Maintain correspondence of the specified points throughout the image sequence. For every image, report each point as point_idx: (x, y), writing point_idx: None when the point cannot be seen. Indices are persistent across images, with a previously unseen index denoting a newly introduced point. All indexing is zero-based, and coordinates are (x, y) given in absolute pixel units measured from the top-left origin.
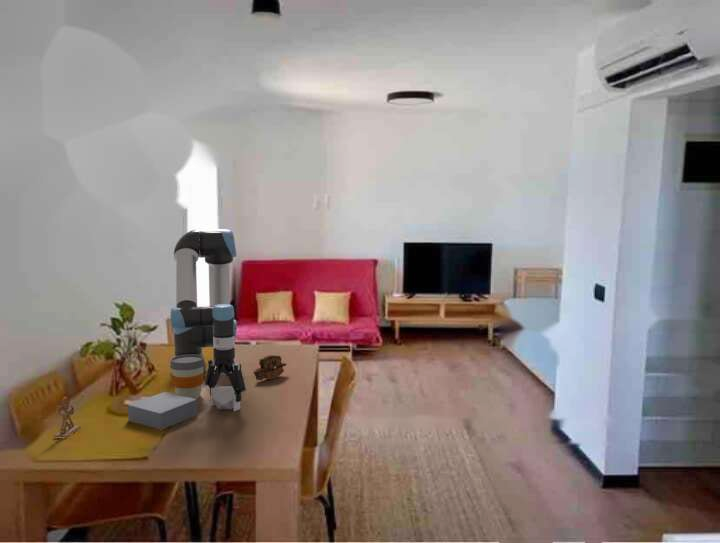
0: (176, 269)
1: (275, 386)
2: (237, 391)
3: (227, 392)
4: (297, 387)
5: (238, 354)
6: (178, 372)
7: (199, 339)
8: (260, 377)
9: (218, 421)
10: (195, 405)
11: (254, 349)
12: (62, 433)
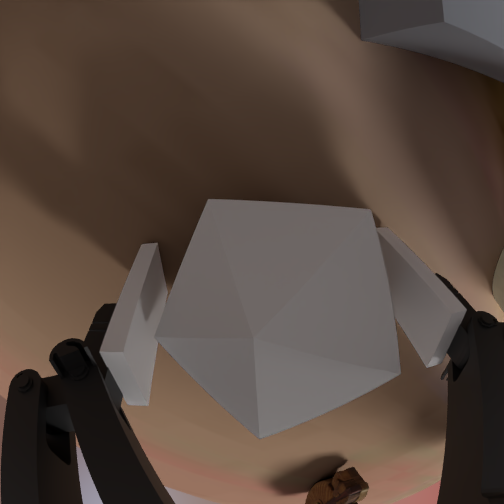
0: None
1: (266, 474)
2: (62, 379)
3: (211, 343)
4: (198, 486)
5: None
6: None
7: None
8: (338, 480)
9: (91, 33)
10: (404, 11)
11: (440, 475)
12: None
